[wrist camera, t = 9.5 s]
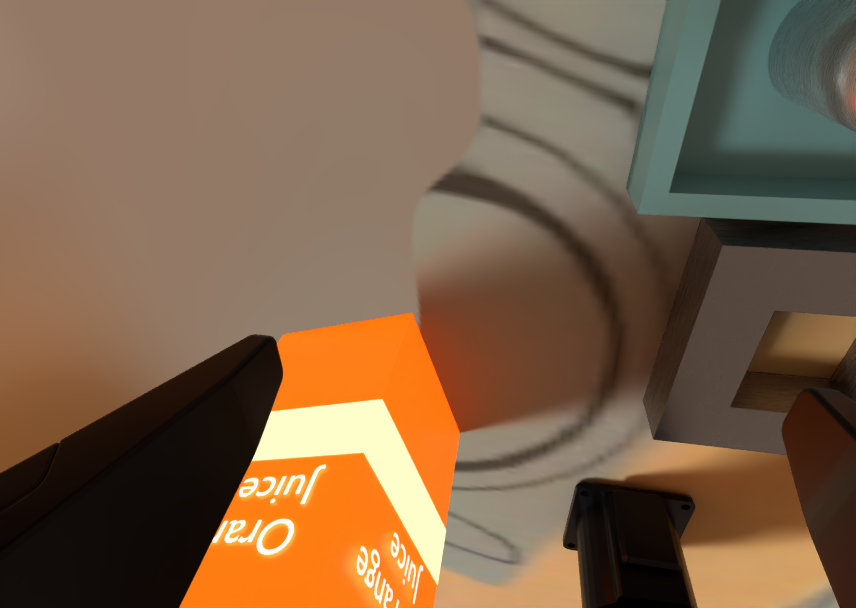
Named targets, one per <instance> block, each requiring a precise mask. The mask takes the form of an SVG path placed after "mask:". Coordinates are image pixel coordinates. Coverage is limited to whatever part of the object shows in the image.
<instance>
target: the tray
mask: <svg viewBox="0 0 856 608" xmlns="http://www.w3.org/2000/svg"><path fill="white" fill-rule="evenodd" d="M799 1H800V0H667V3H666V8H665V13H664V17H663V22H662V26H661V31H660V36H659V40H658V45H657V49H656V54H655V59H654V63H653V68H652V72H651V77H650V81H649V86H648V91H647V95H646V100H645V104H644V109H643V114H642V118H641V123H640V127H639V132H638V137H637V141H636V146H635V150H634V155H633V160H632V164H631V169H630V173H629V178H628V183H627V187H626V188H627V190H628V193H629V195H630V197H631V199H632V202H633V204H634V206H635V208H636V210H637V213H638V214H647V215H668V216H688V217H709V218H729V219H750V220H770V221H791V222H811V223H832V224H853V225H856V132H854V131H852V130H850V129H848V128H846V127H844V126H841V125H839V124H837V123H835V122H833V121H831V120H829V119H827V118H824V117H822V116H820V115H818V114H816V113H814V112H812V111H810V110H807V109H805V108H803V107H801V106H799V105H797V104H795V103H793V102H790V101H789V100H787V99H785V98H784V97H782V96H781V95H780V94H779V93H778V92H777V91H776V89H775V88H774V86H773V84H772V83H771V80H770V77H769V72H768V55H769V50H770V46H771V43H772V40H773V38H774V35H775V33H776V31H777V29H778V27H779V26H780V24H781V22H782V21H783V19H784V18H785V17H786V15H787V14H788V13H789V11H790V10H791V9H792V8H793V7H794V6H795V5H796V4H797V3H798V2H799Z"/></svg>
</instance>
